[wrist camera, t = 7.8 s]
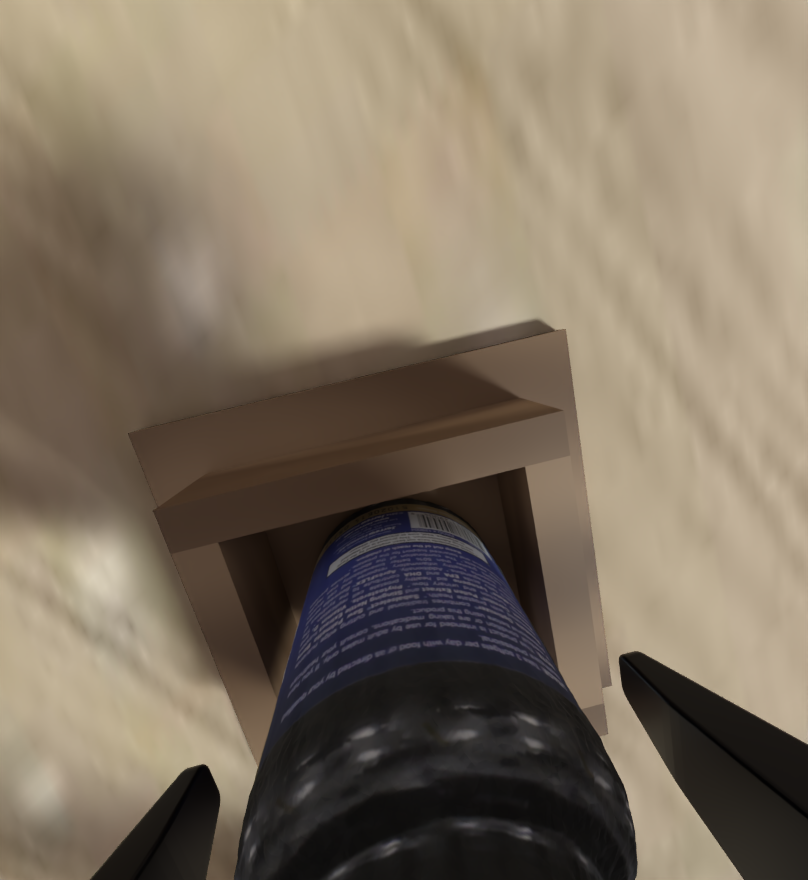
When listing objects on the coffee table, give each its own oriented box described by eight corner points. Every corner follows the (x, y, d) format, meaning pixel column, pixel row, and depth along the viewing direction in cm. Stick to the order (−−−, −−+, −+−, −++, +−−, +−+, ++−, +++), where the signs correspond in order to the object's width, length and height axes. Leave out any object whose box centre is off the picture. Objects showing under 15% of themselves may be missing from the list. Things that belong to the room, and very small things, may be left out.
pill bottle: (279, 555, 13) (-171, 1467, 2) (430, 458, 13) (723, 999, 2) (379, 679, 14) (390, 1632, 4) (519, 594, 14) (988, 1366, 3)
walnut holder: (602, 673, 16) (667, 763, 12) (270, 760, 16) (240, 877, 12) (557, 330, 13) (626, 320, 9) (139, 429, 12) (47, 458, 9)
